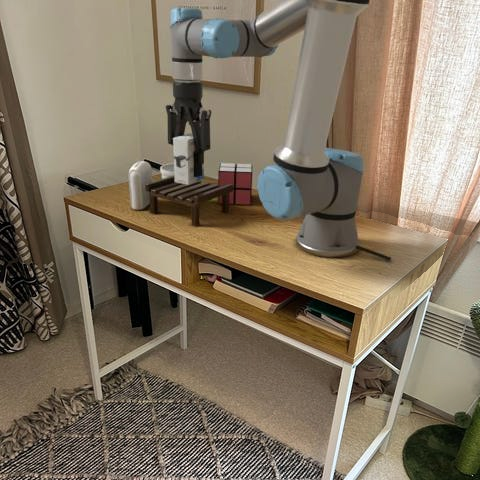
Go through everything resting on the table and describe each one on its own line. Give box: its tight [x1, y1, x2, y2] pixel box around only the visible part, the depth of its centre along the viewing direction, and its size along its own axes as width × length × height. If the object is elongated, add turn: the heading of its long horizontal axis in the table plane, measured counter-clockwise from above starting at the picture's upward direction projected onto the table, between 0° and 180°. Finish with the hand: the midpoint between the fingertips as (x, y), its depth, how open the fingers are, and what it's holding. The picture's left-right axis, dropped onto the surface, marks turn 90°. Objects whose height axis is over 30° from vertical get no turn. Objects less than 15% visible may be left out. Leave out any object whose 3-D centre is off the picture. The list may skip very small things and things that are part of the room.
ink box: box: [172, 132, 205, 185], centre depth 131 cm, size 8×5×12 cm, turn 154°
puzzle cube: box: [217, 162, 253, 206], centre depth 148 cm, size 10×10×10 cm
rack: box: [145, 175, 233, 227], centre depth 137 cm, size 19×16×8 cm
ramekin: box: [159, 162, 201, 181], centre depth 157 cm, size 13×13×7 cm
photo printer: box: [128, 160, 153, 211], centre depth 140 cm, size 10×4×12 cm, turn 170°
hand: (189, 173), depth 134 cm, fingers closed on ink box, 5 cm apart
